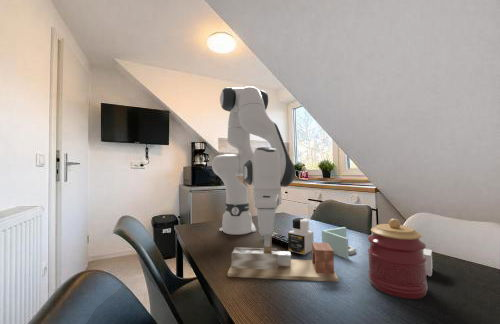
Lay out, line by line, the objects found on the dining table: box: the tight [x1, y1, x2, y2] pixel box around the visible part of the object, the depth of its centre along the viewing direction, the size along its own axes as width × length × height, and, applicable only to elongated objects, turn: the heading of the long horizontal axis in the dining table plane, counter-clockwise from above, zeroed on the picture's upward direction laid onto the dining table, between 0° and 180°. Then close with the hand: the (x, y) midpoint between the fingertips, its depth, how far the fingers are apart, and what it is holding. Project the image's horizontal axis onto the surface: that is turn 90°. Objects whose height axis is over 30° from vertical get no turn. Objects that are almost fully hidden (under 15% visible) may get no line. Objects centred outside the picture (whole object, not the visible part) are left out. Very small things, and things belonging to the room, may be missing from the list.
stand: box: [227, 242, 339, 283], centre depth 70 cm, size 31×12×8 cm, turn 83°
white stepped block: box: [232, 235, 292, 266], centre depth 71 cm, size 18×3×9 cm, turn 83°
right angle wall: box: [321, 226, 356, 260], centre depth 86 cm, size 12×12×8 cm
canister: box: [367, 218, 428, 300], centre depth 60 cm, size 13×13×18 cm
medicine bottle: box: [287, 217, 315, 256], centre depth 87 cm, size 7×7×12 cm
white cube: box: [423, 248, 434, 277], centre depth 69 cm, size 6×6×6 cm
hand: (267, 242), depth 71 cm, fingers open, 5 cm apart
